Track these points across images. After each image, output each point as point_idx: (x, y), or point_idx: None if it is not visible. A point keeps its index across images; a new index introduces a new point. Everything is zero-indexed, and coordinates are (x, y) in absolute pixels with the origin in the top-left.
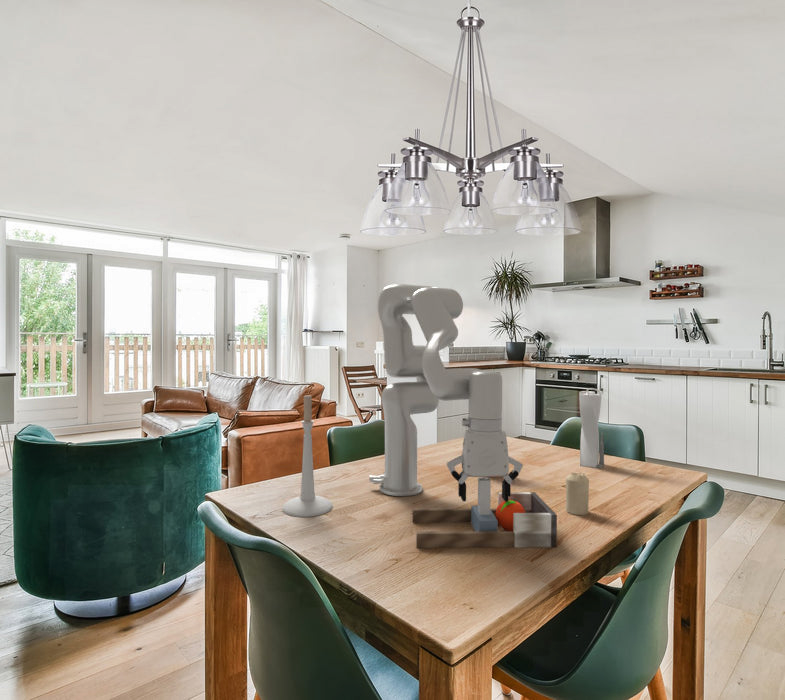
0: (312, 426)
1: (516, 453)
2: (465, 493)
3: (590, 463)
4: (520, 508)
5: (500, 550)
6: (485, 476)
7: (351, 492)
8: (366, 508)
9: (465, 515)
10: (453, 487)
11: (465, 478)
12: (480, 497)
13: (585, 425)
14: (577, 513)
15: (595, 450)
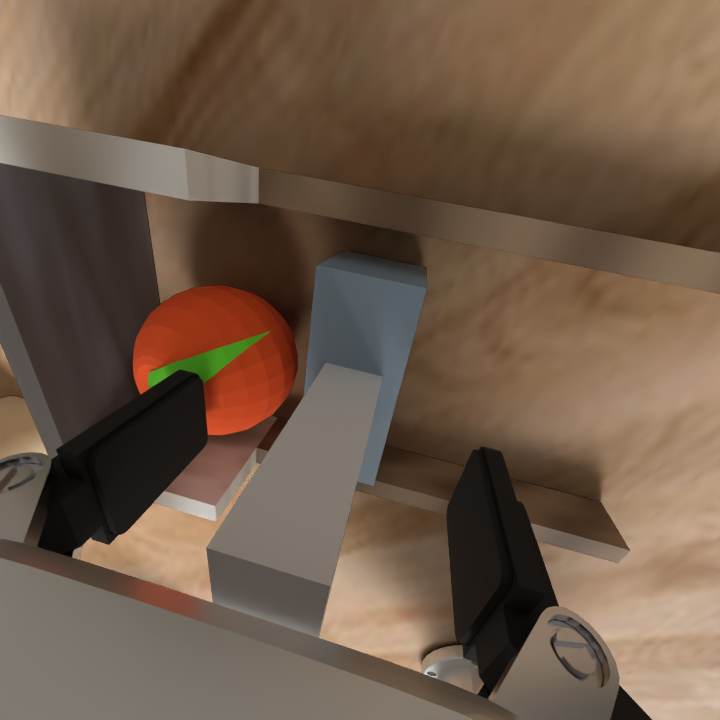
0: None
1: None
2: (492, 494)
3: None
4: (145, 332)
5: (366, 152)
6: (240, 621)
7: (650, 716)
8: (691, 634)
9: (394, 468)
10: (329, 636)
11: (530, 683)
12: (361, 441)
13: None
14: (24, 403)
15: None
